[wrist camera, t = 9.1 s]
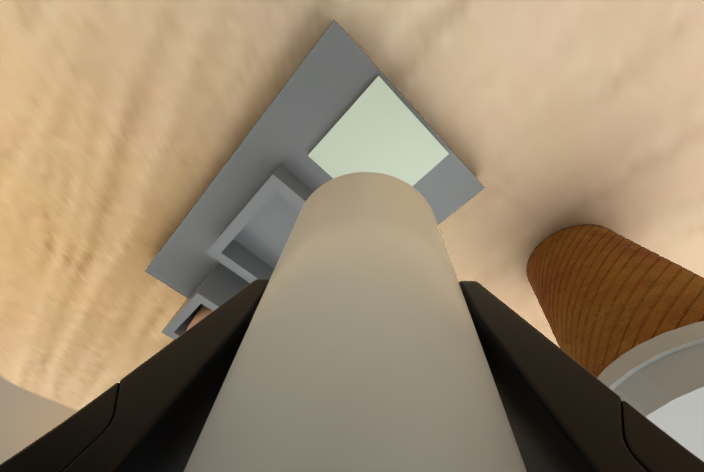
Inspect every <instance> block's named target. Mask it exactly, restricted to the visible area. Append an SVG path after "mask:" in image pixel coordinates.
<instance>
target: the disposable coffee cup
mask: <svg viewBox="0 0 704 472" xmlns="http://www.w3.org/2000/svg"><path fill="white" fill-rule="evenodd" d="M624 238H625V237H623V236H621V235H619V234H618V235H617V233H615V232H613V231H611V230H610V229H608V228H605V227H602V226H598V225H578V226H573V227H569V228H567V229H564V230H561V231H559V232H557V233H555V234H553V235H552V236H550V237H549V238H547V239H546V240H544V241H543V242H542V243H541V244H540V245H539V246H538V247H537V248H536V250H535V251H534V253H533V254H532V255H531V257H530V259H529V262H528V266H527V276H528V280H529V282H530V284H531V286H532V288H533V291H534V293H535V295H536V297H537V299H538V301H539V303H540V306H541V308H542V310H543V312H544V314H545V316H546V318H547V320H548V322H549V325H550V327H551V329H552V332H553V334H554V336H555V338H556V340H557V343H558V345H559V346H560V349H561V350H563V351H564V352H565V353H566V354H568V355H569V356H570V357H571V358H573V359H574V360H575V361H576V362H578V363H579V364H580V365H581V366H583V367H584V368H585V369H586V370H588V371H589V372H590V373H591V374H593V375H594V376H595V377H596V378H597V379H599V380H600V381H601V382H602V383H604V384H605V385H606V386H607V387H609V388H610V389H611V390H612V391H614V392H615V393H616V394H617V395H619V396H620V398H621V401H626V402H628V403H629V404H630V405H631V406H633V407H634V408H635V409H636V410H638V411H639V412H640V413H641V414H643V415H644V416H645V417H646V418H647V419H649V420H650V421H651V422H653V423H654V424H655V425H656V426H658V427H659V428H660V429H662V430H663V431H664V432H665V433H667V434H668V435H669V436H671V437H672V438H673V439H674V440H676V441H677V442H678V443H680V444H681V445H682V446H683V447H685V448H686V449H687V450H689V451H690V452H691V453H693V454H694V455H695V456H697V457H698V458H699V459H701V460H702V461H703V462H704V278H703V277H701V276H699V275H697V274H694V273H693V272H691V271H689V270H687V269H685V268H682V266H680V265H678V264H675V263H673V262H671V261H670V260H668V259H666V258H664V257H662V256H661V257H660V256H659V255H658V254H656V253H654V252H650V250H648V249H646V248H644V247H641V245H638V244H636V243H633V241H631V240H629V239H626V238H625V239H624Z"/></svg>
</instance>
